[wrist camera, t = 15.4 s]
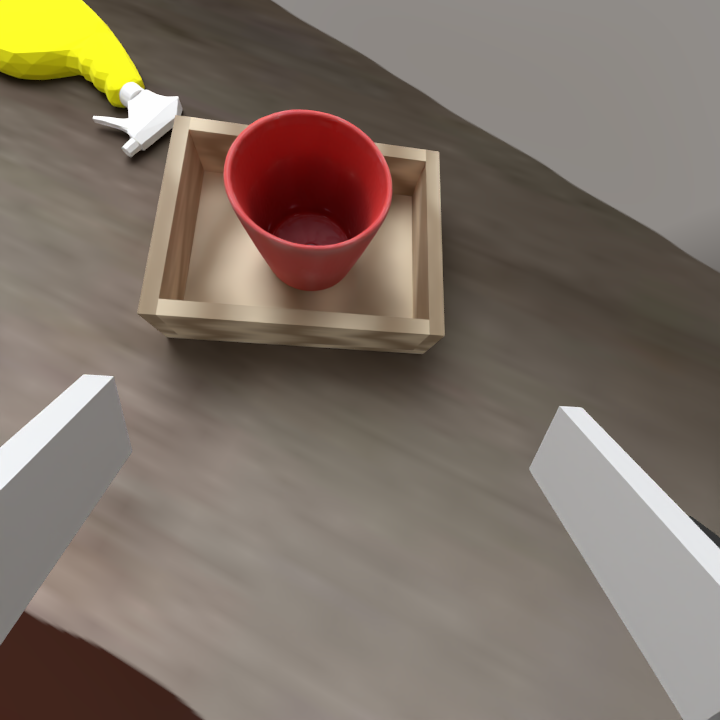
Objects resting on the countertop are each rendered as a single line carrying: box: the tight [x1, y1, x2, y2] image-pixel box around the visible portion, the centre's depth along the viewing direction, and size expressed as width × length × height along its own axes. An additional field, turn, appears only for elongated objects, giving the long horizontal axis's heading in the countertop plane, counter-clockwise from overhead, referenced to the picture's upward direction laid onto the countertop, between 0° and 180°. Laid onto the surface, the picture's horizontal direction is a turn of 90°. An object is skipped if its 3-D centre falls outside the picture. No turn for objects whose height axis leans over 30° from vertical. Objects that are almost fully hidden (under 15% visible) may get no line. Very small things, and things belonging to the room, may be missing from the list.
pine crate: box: [137, 115, 445, 354], centre depth 31 cm, size 22×17×6 cm
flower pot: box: [223, 110, 393, 291], centre depth 28 cm, size 11×11×10 cm
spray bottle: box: [0, 0, 183, 157], centre depth 34 cm, size 3×11×24 cm
